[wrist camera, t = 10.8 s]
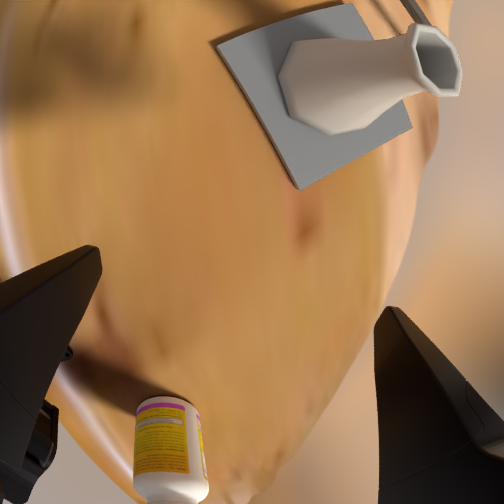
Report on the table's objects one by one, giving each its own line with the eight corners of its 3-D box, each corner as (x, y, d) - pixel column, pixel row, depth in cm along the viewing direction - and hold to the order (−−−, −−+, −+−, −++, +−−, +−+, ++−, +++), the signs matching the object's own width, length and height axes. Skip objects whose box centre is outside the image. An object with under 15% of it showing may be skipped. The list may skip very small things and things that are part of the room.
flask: (277, 29, 14) (355, -46, 5) (373, 51, 15) (478, 25, 6) (274, 131, 17) (364, 128, 8) (371, 142, 18) (485, 162, 9)
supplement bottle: (124, 406, 24) (116, 515, 12) (170, 384, 24) (175, 510, 12) (166, 433, 27) (172, 530, 15) (211, 415, 27) (230, 522, 15)
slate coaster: (296, 188, 19) (300, 190, 18) (215, 49, 14) (217, 45, 14) (406, 127, 19) (412, 127, 18) (346, 6, 14) (352, 2, 13)
